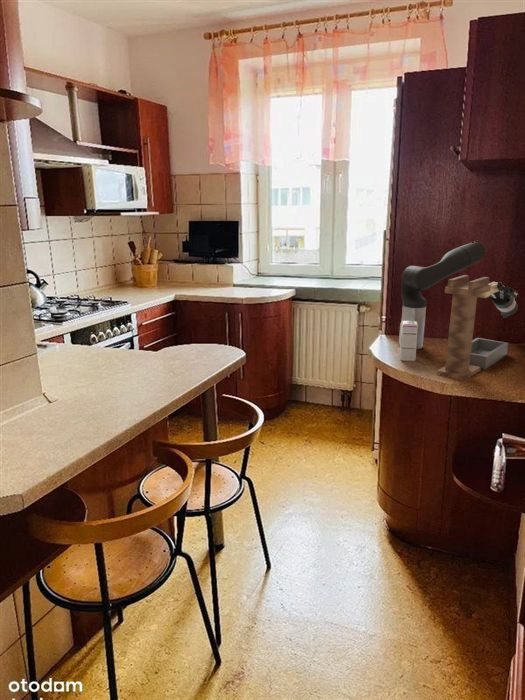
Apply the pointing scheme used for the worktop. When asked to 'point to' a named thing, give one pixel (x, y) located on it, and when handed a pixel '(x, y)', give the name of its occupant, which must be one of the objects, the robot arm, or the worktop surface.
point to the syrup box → (408, 340)
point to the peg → (492, 290)
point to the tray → (487, 352)
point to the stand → (462, 325)
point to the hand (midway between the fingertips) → (493, 283)
